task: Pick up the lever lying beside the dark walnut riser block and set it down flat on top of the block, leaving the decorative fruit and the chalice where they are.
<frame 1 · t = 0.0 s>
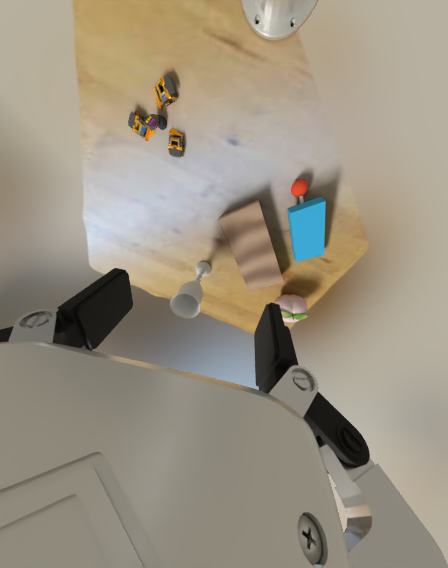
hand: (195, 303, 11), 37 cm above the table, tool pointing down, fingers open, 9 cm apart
chalice: (203, 268, 53), on the table
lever: (302, 221, 43), on the table
walnut riser block: (253, 247, 47), on the table
toy set: (166, 118, 36), on the table
decorative fruit: (286, 297, 55), on the table
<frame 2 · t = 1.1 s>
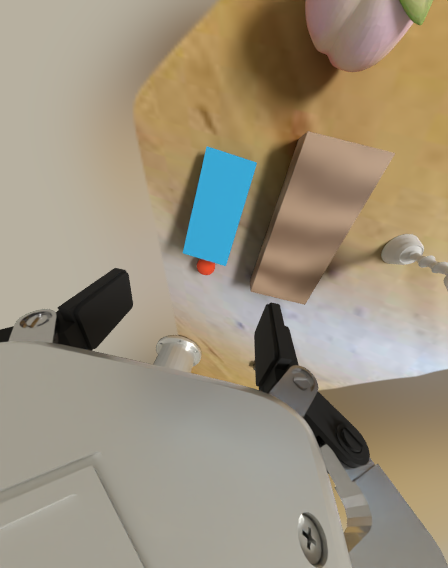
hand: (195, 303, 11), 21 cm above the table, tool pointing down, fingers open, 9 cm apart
chalice: (398, 249, 28), on the table
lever: (217, 222, 29), on the table
walnut riser block: (298, 231, 28), on the table
decorative fruit: (340, 29, 18), on the table
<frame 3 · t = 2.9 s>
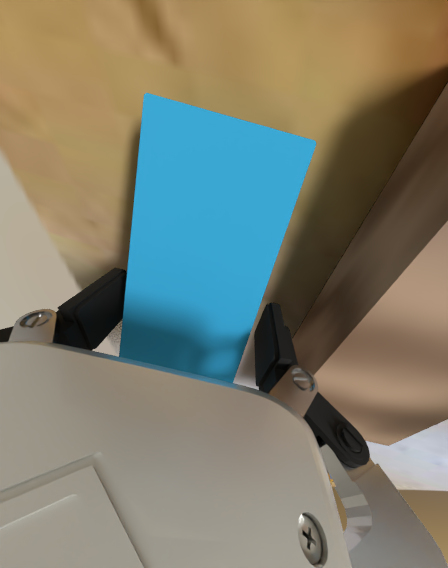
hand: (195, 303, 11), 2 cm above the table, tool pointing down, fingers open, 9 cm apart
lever: (205, 283, 14), on the table
walnut riser block: (388, 308, 12), on the table
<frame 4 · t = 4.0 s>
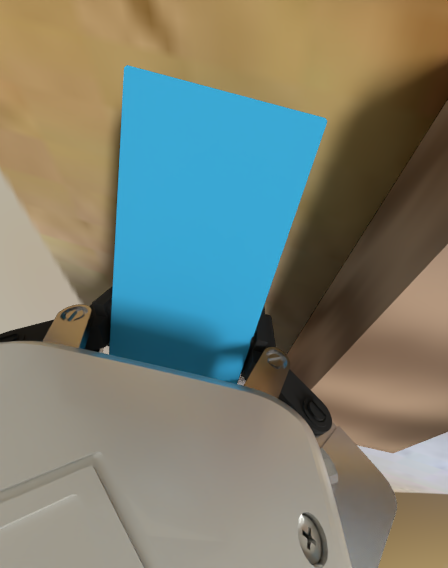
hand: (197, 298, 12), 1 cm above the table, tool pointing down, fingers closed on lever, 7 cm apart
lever: (202, 284, 13), on the table, touching gripper
walnut riser block: (394, 312, 12), on the table
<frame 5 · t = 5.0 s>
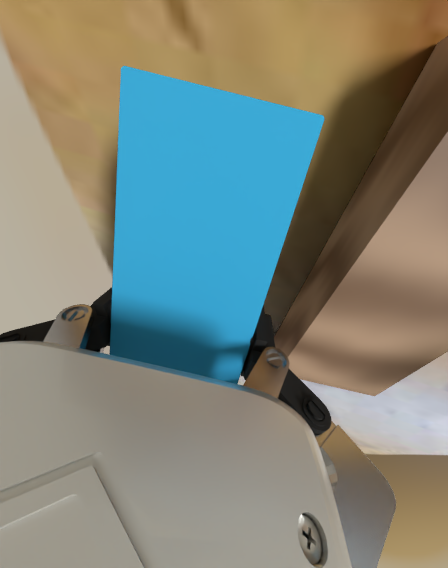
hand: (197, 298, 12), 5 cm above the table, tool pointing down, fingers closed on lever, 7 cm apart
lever: (202, 284, 13), point 3 cm above the table, touching gripper
walnut riser block: (377, 272, 14), on the table
when the fingers open (7 cm above the table, at t = 8.8 s): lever drops 2 cm, resting on walnut riser block.
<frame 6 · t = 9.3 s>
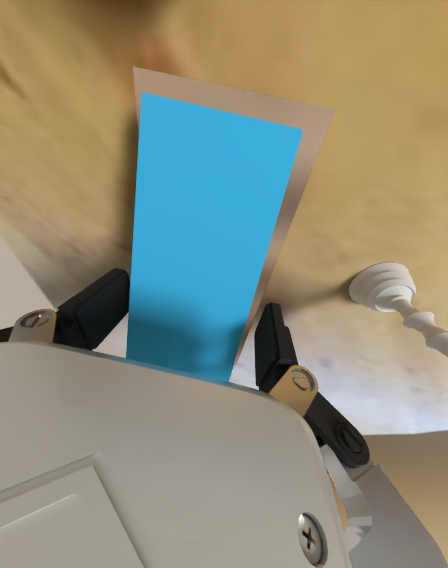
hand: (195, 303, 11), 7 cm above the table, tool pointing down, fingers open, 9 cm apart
chalice: (376, 284, 17), on the table
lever: (205, 274, 14), point 4 cm above the table, touching walnut riser block
walnut riser block: (214, 258, 18), on the table
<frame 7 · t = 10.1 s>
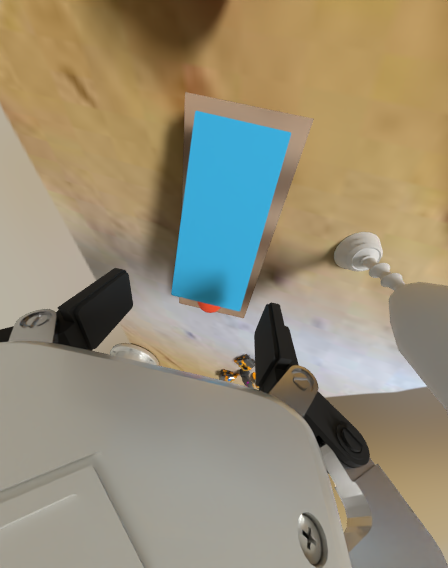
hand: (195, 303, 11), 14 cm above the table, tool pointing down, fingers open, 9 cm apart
chalice: (355, 251, 22), on the table
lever: (223, 238, 19), point 4 cm above the table, touching walnut riser block
walnut riser block: (228, 231, 23), on the table
toy set: (239, 367, 42), on the table
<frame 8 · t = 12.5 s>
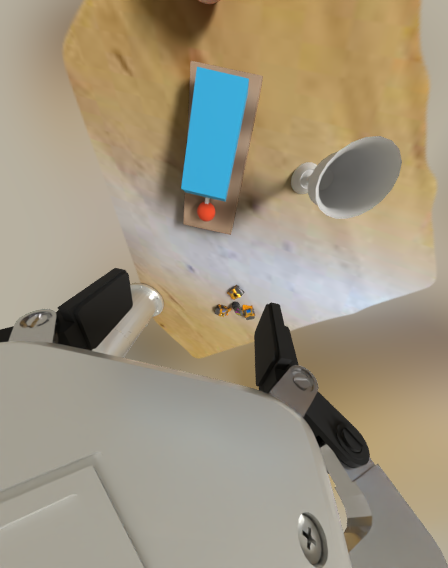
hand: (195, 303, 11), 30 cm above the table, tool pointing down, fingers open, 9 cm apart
chalice: (305, 178, 32), on the table
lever: (214, 162, 29), point 4 cm above the table, touching walnut riser block
walnut riser block: (218, 166, 32), on the table
toy set: (231, 302, 51), on the table
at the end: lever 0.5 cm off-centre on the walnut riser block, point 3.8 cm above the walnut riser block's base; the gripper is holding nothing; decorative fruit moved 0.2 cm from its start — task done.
